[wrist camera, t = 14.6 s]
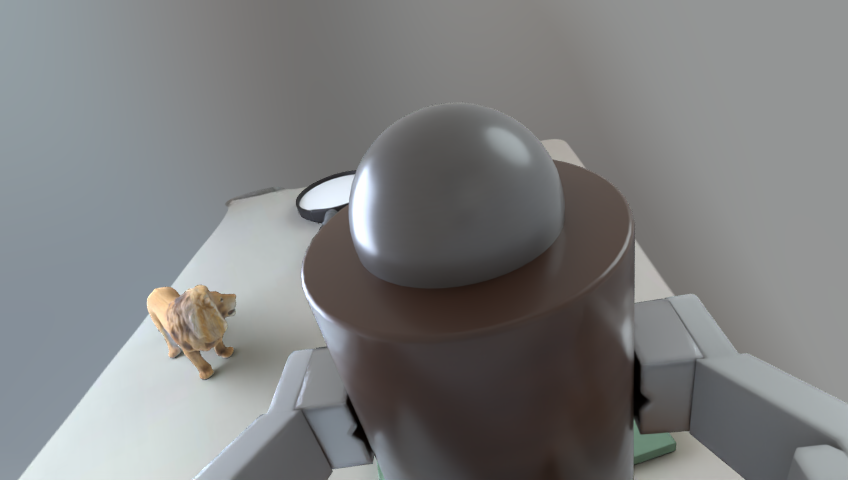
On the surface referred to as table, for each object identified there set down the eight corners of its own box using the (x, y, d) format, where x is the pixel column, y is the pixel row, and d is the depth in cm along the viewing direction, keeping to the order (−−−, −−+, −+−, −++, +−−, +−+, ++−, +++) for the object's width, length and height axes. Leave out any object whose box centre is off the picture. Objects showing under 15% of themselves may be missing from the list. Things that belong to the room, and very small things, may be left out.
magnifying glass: (269, 281, 57) (262, 266, 55) (309, 190, 77) (304, 178, 76) (373, 261, 55) (368, 245, 54) (386, 174, 76) (382, 161, 75)
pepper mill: (577, 488, 16) (533, 38, 9) (675, 675, 12) (743, 102, 5) (432, 539, 16) (264, 114, 9) (479, 751, 12) (225, 257, 4)
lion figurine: (271, 351, 46) (232, 274, 41) (227, 394, 42) (178, 315, 38) (182, 319, 54) (140, 251, 49) (138, 353, 50) (89, 283, 46)
